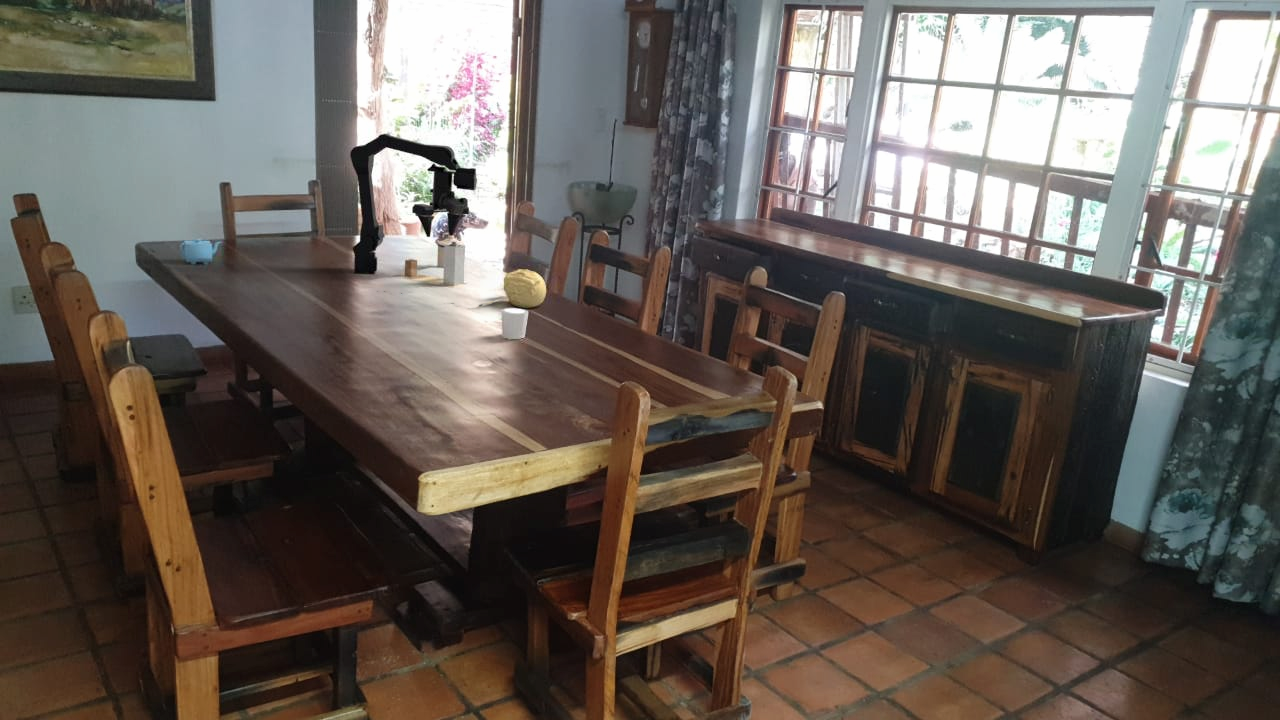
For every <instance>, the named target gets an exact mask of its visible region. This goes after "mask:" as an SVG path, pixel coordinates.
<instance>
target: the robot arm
mask: <svg viewBox="0 0 1280 720" xmlns="http://www.w3.org/2000/svg"><path fill="white" fill-rule="evenodd" d="M385 149H390V150H396V151H399V152H401V153H402V152H403V153H406V154H411V155H413V156H414V155H415V156H417V157H422V158H425V160H427V161H430V162H432V163H431V166H430V167H428V168H427V172H433V180H432V181H433V182H432V183H433V184H432V188H430V189H429V192H430V193H432V201H429V205H428V204H425V203H415V204H413V206H412V208H411V209H412V210H411V211H412V212H411V213H412V214H415V216H416V217H418V219H419V221H420V223H421V226H422V228H423V231H424V233H425V235H426V237H427V238H430V237H431V234H432V233H431V232H432V221H433V219H434V218H435V216H433V215H434V214H435V213H446V214H447V226H448V227H447V228H448V236H449V235H450V236H452V235H453V236H454V233H455V231H456V229H457V228H456V227H457V226H458V224H459V222H460V220H462V219H463V218H464V217H466V216H467V215H469V214H470V213H469V212H470V208H469V204H468V203H469V202H468V199H467V198H466V197H461V198H457V197H456V196H455V195H456V193H455V191H454V190H453V189H452V188H453V187H452V186H453V185H454V186H455V187H456V189H458V190H466V191H468V190H469V191H476V190H477V185H478V184H477V183H478V178H477V168H474V167H470V168H469V167H461V165H460V164H459V163H458V161H457V159H456V158H455V157H456V156H455V151H454V150H453V148H452V147H451V146H449V145H439V144H425V143H422V142H421V143H420V142H417V141H414V140H409V139H405V138H402V137H398V136H393V135H391V134H389V133H381V134H379V135H378V137H376V138H374V139H372V140H370V141H369V142H367V143H365V144H360V145H357V146H355V147H353V148H352V149H350V153H349V158H350V161H351V164H352V167H353V169H354V172H355V175H356V177H357V184H358V194H359V201H360V202H359V203H360V212H361V219H362V221H361V226H360V232H359V242H358V243H356V244H355V245H354V246H353V247H352V251H353V252H352V253H353V254H354V258H353V259H354V260H353V261H354V262H353V263H354V265H353V266H354V267H353V268H354V269H353V273H355V274H372V275H374V274H375V273H376V272H377V271H378V257H377V255H376V250H377V248H378V247H379V246H381V244H382V243H383V241H384V238H385V236H386V235H385V234H384V224H379V222H378V220H377V214H376V204H375V197H374V195H375V194H374V187H373V186H374V185H373V176H372V175H373V174H372V173H373V169H374V160H375V156H376V155H377V154H378V153H381V152H382V151H384V150H385ZM438 165H439V166H438ZM447 169H448V170H447ZM452 184H453V185H452Z"/></svg>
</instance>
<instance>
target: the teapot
mask: <svg viewBox="0 0 1280 720" xmlns="http://www.w3.org/2000/svg"><path fill="white" fill-rule="evenodd" d="M220 244H222V241H216V242H215V243H214V245H213V244H212V242H211V241H210V240H202V239H201V238H195V239H194V240H184V241H183V243H181V244H180V246H179V249H180V251H181V252H182V254H181V256H182V258H184V259H185V261H186V262H187V263H190V265H193V264H194V265H196V264H197V263H202V264H203V265H209V263H212V262H213V255H214V254H216V252H217V250H218V246H219V245H220ZM183 246H184V249H183Z"/></svg>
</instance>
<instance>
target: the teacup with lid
mask: <svg viewBox="0 0 1280 720" xmlns="http://www.w3.org/2000/svg"><path fill="white" fill-rule="evenodd" d="M452 242H458V245H464V246H465V247H466V245H465V243H464V242H462V241H460V240H458V238H455V235H454V234H453V235H452V236H450V235H449V234H448V237H447V238H444V239H442V240H439V241H437V267H440V268H444V246H445V245H450V244H452Z"/></svg>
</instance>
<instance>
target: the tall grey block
mask: <svg viewBox="0 0 1280 720" xmlns="http://www.w3.org/2000/svg"><path fill="white" fill-rule="evenodd" d="M465 254H466V245H465V246H464V245H458V242H452V244H450V245H445V246H444V267H443V278H442V279H443V285H449V286H454V288H456V287H455V286H458V285H462V284H464V283H465V282H464V281H465V280H464V279H465V259H466V257H465V256H466V255H465ZM462 286H463V285H462ZM458 287H459V286H458Z"/></svg>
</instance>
